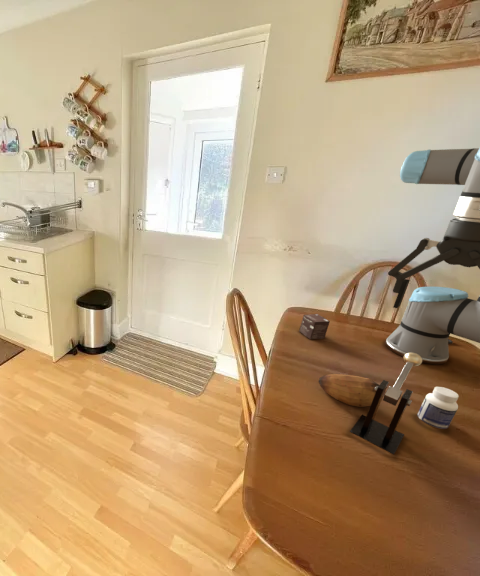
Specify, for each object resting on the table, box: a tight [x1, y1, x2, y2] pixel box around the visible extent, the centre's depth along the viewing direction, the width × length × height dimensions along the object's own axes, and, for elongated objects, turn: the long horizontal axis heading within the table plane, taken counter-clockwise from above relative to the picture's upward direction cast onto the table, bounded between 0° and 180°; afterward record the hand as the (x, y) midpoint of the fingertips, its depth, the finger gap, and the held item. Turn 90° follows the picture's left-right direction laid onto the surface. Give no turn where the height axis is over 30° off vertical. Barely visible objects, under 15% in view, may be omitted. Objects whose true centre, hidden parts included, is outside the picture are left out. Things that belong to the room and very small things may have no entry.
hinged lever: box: [382, 353, 423, 406], centre depth 71 cm, size 15×3×3 cm, turn 126°
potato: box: [318, 373, 380, 408], centre depth 83 cm, size 8×14×8 cm
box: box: [298, 313, 330, 340], centre depth 117 cm, size 6×6×7 cm
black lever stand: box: [349, 379, 414, 455], centre depth 71 cm, size 9×8×14 cm
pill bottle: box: [416, 386, 460, 430], centre depth 75 cm, size 5×5×10 cm
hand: (437, 316), depth 69 cm, fingers open, 13 cm apart
